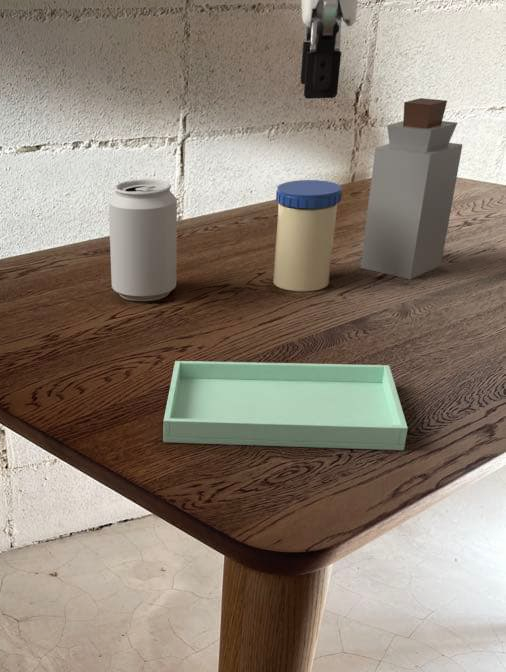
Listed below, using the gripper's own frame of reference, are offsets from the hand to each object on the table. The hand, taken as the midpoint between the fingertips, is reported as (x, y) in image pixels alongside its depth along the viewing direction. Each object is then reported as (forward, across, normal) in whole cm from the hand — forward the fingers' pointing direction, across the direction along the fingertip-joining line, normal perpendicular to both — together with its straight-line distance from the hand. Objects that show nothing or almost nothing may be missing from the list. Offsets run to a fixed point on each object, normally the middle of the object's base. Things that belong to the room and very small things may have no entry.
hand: (317, 90), depth 90 cm
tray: (+20, -34, +3) cm, 40 cm away
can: (+20, -4, +18) cm, 27 cm away
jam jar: (+20, 0, 0) cm, 20 cm away
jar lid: (+10, 0, 0) cm, 10 cm away
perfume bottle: (+20, +6, -12) cm, 24 cm away
